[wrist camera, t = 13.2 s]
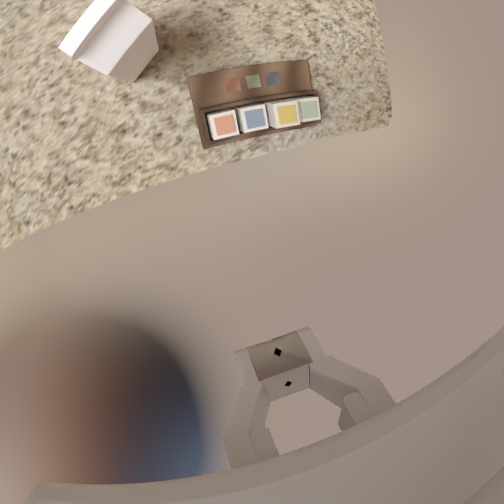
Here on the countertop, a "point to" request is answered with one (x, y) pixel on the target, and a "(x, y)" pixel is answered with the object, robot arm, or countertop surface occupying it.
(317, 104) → the key sage
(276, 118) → the key mustard
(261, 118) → the key slate
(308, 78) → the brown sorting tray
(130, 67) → the milk
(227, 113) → the key terracotta
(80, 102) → the countertop surface
